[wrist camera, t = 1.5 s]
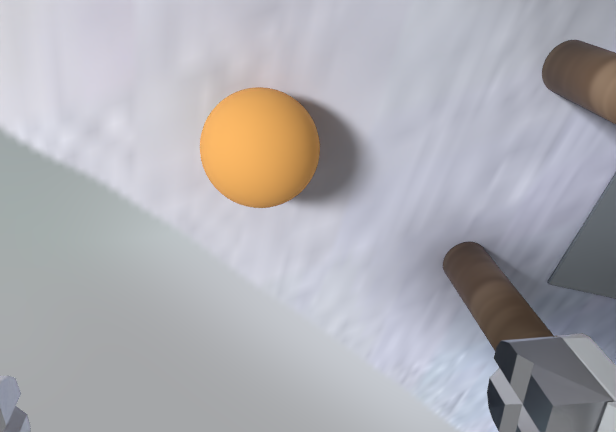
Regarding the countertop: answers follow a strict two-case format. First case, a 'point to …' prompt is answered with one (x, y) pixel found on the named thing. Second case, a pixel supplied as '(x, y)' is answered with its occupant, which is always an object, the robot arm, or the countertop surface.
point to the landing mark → (592, 251)
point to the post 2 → (583, 76)
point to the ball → (259, 147)
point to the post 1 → (491, 296)
